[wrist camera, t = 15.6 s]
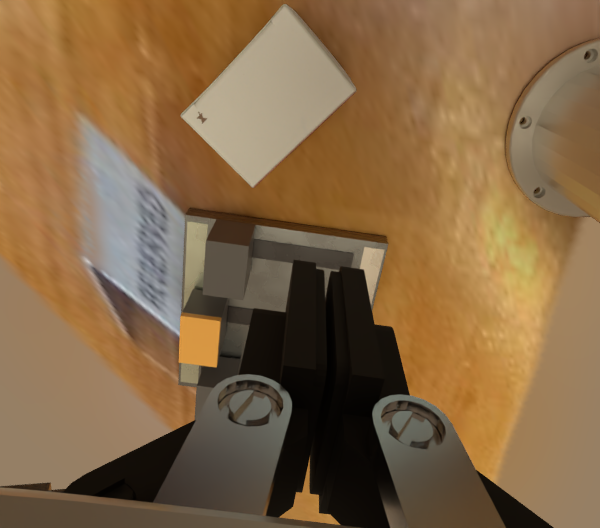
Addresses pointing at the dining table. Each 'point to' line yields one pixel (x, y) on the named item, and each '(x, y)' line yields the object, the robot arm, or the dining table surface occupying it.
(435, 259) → the dining table surface
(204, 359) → the block
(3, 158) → the dining table surface
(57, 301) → the dining table surface
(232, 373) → the block
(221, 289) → the breaker
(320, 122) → the small box
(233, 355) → the panel
